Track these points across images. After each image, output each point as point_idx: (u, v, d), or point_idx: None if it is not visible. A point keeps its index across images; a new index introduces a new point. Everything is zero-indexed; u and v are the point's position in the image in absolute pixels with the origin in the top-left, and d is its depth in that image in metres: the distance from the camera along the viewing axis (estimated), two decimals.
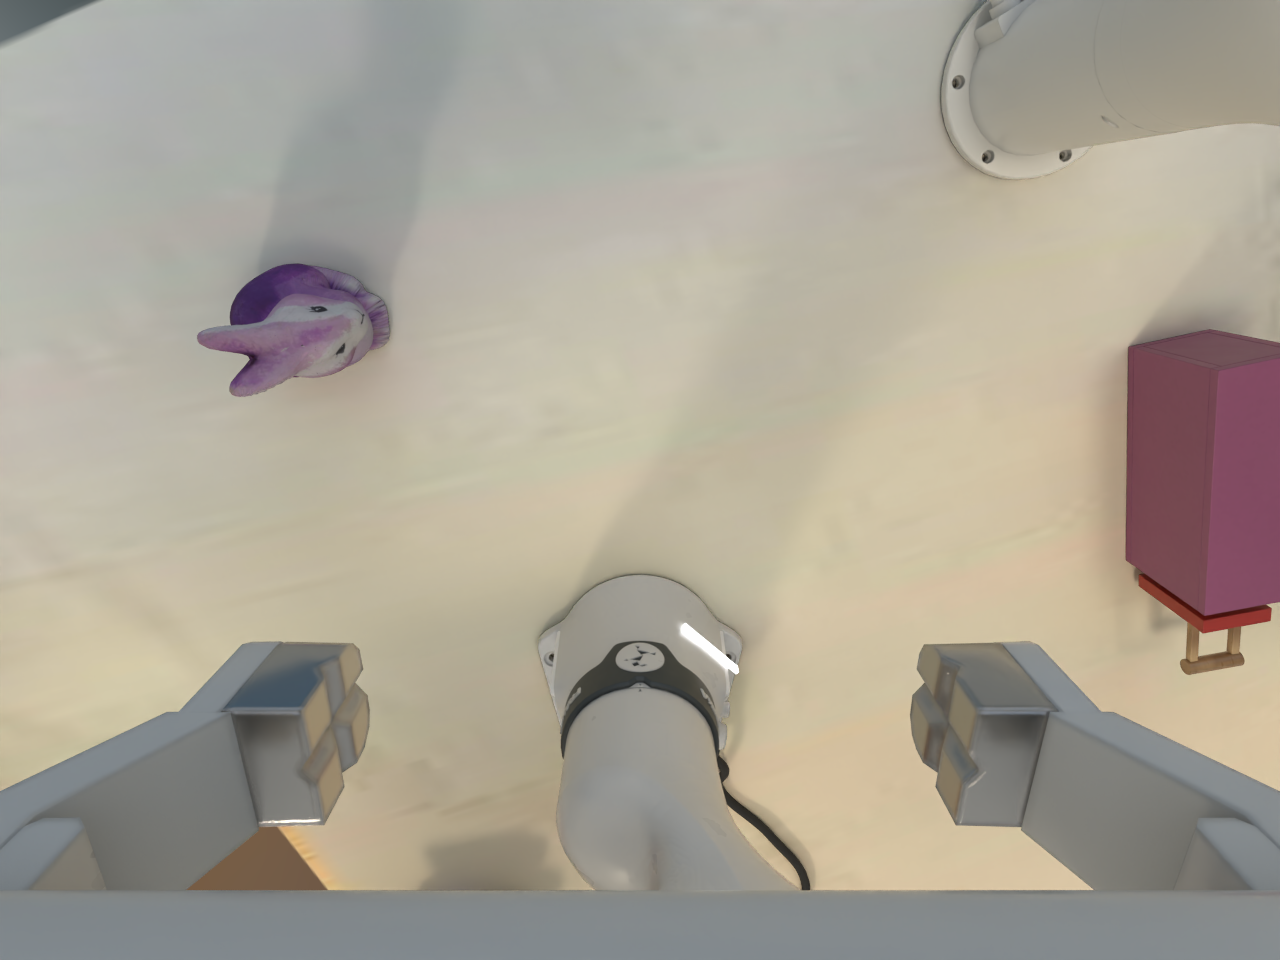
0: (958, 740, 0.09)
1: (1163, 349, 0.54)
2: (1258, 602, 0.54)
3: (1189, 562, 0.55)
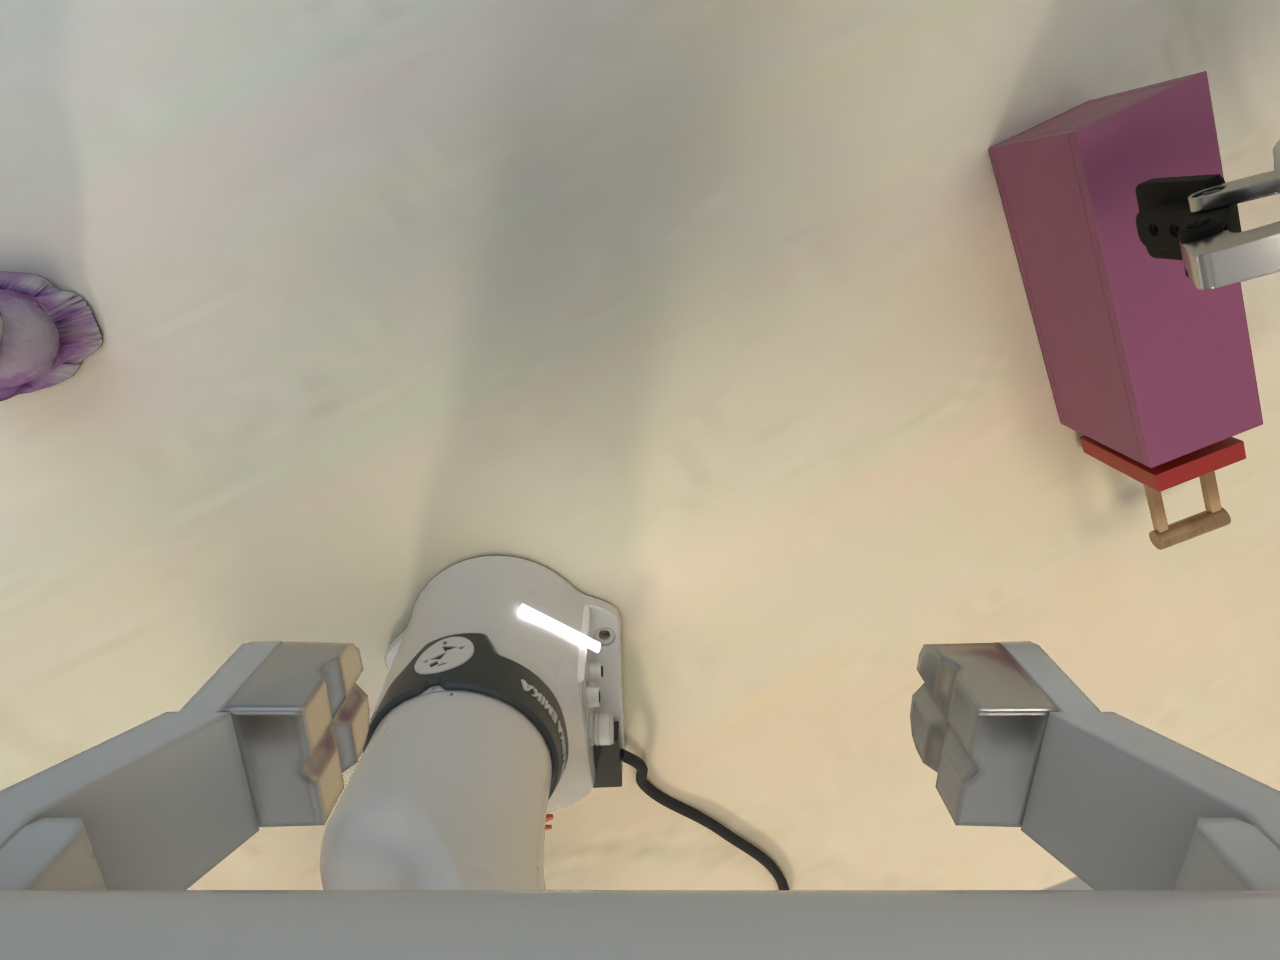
0: (958, 740, 0.09)
1: (1025, 136, 0.41)
2: (1219, 436, 0.40)
3: (1117, 403, 0.42)
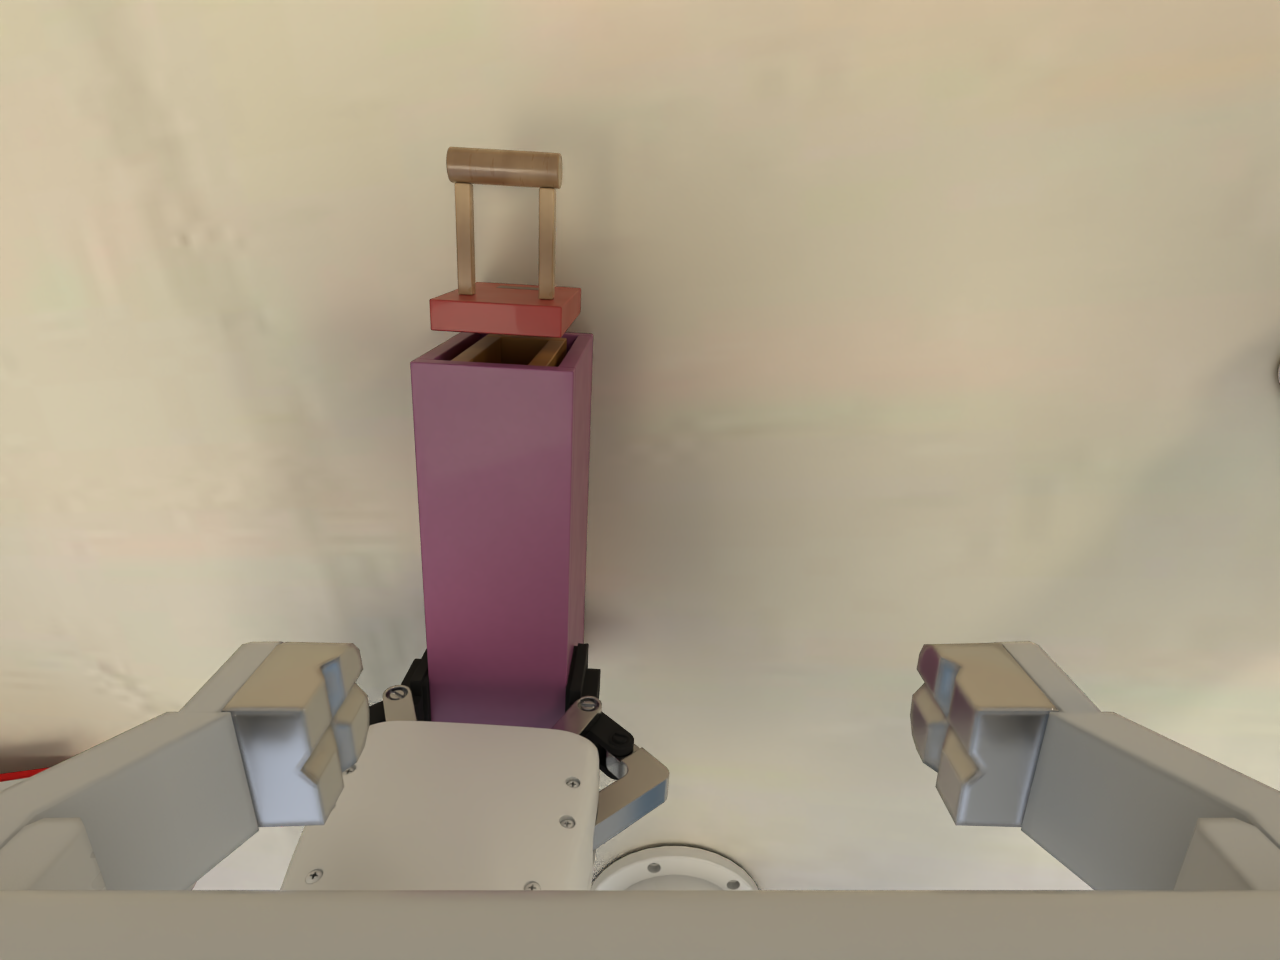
0: (958, 741, 0.09)
1: None
2: (472, 373, 0.27)
3: (576, 449, 0.30)
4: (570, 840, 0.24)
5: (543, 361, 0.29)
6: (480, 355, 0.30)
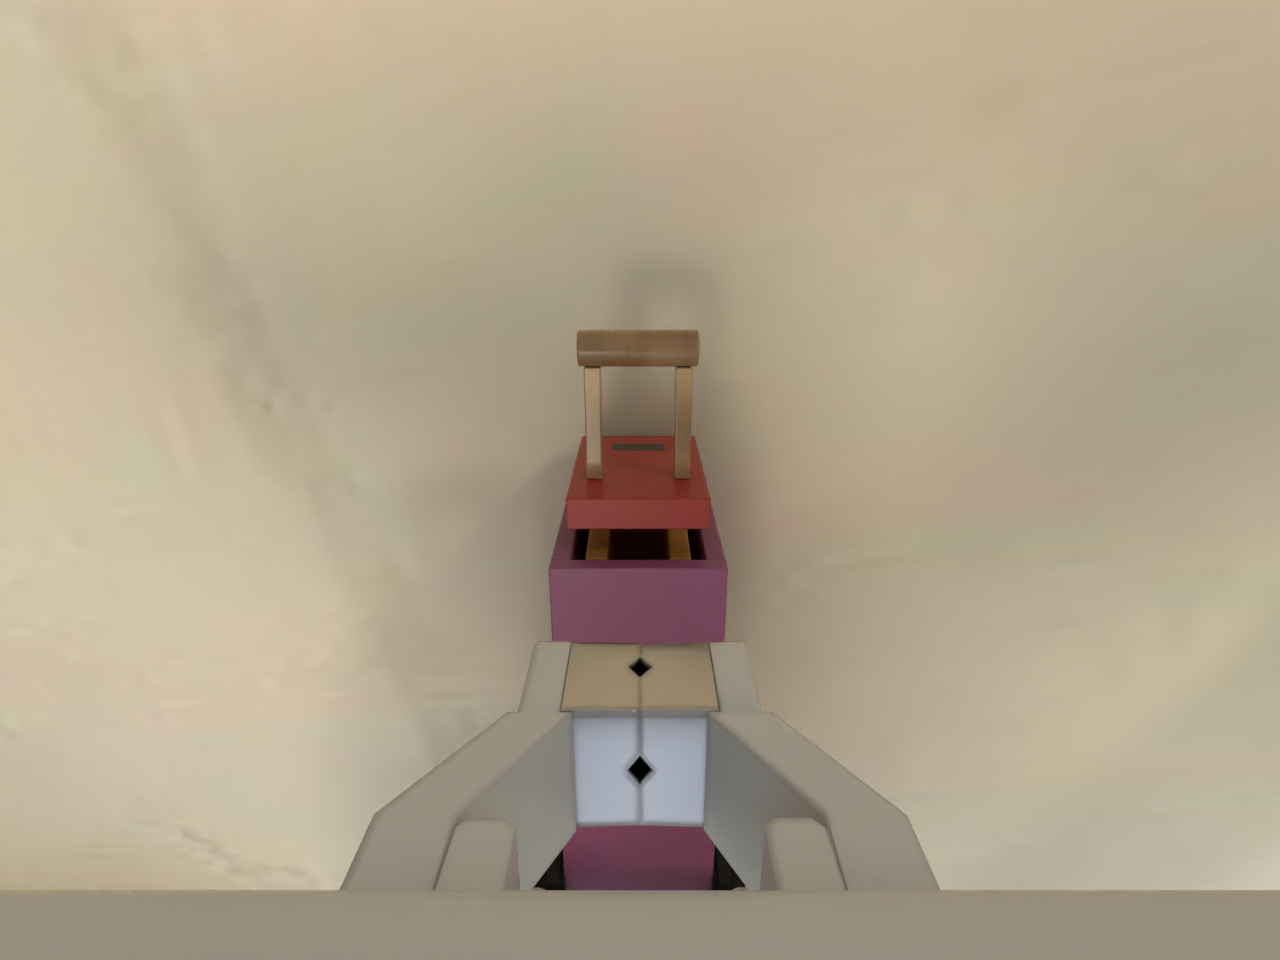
0: None
1: None
2: (617, 576, 0.25)
3: None
4: None
5: (682, 545, 0.27)
6: (609, 536, 0.28)
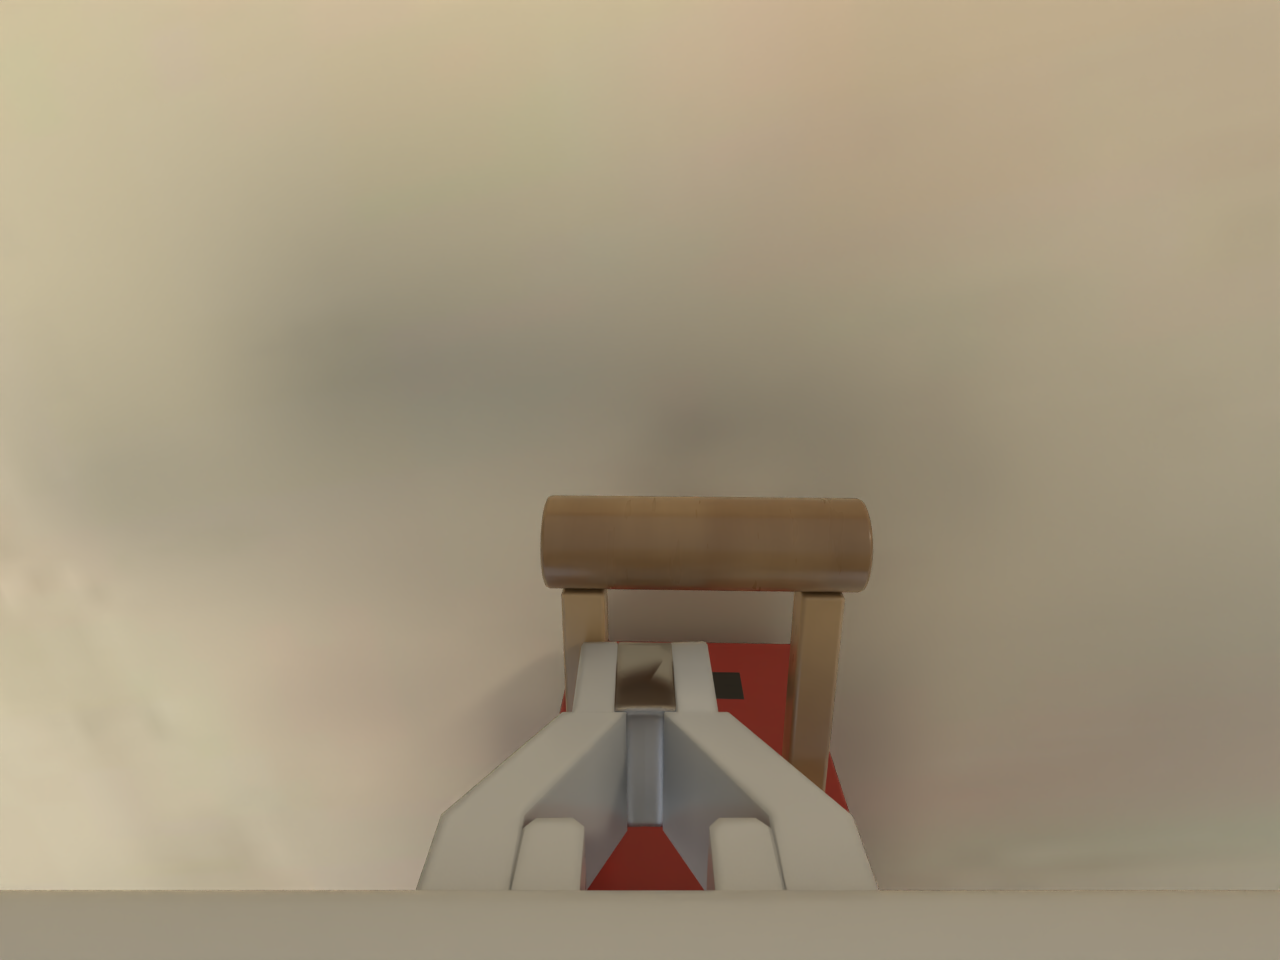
0: None
1: None
2: None
3: None
4: None
5: None
6: None
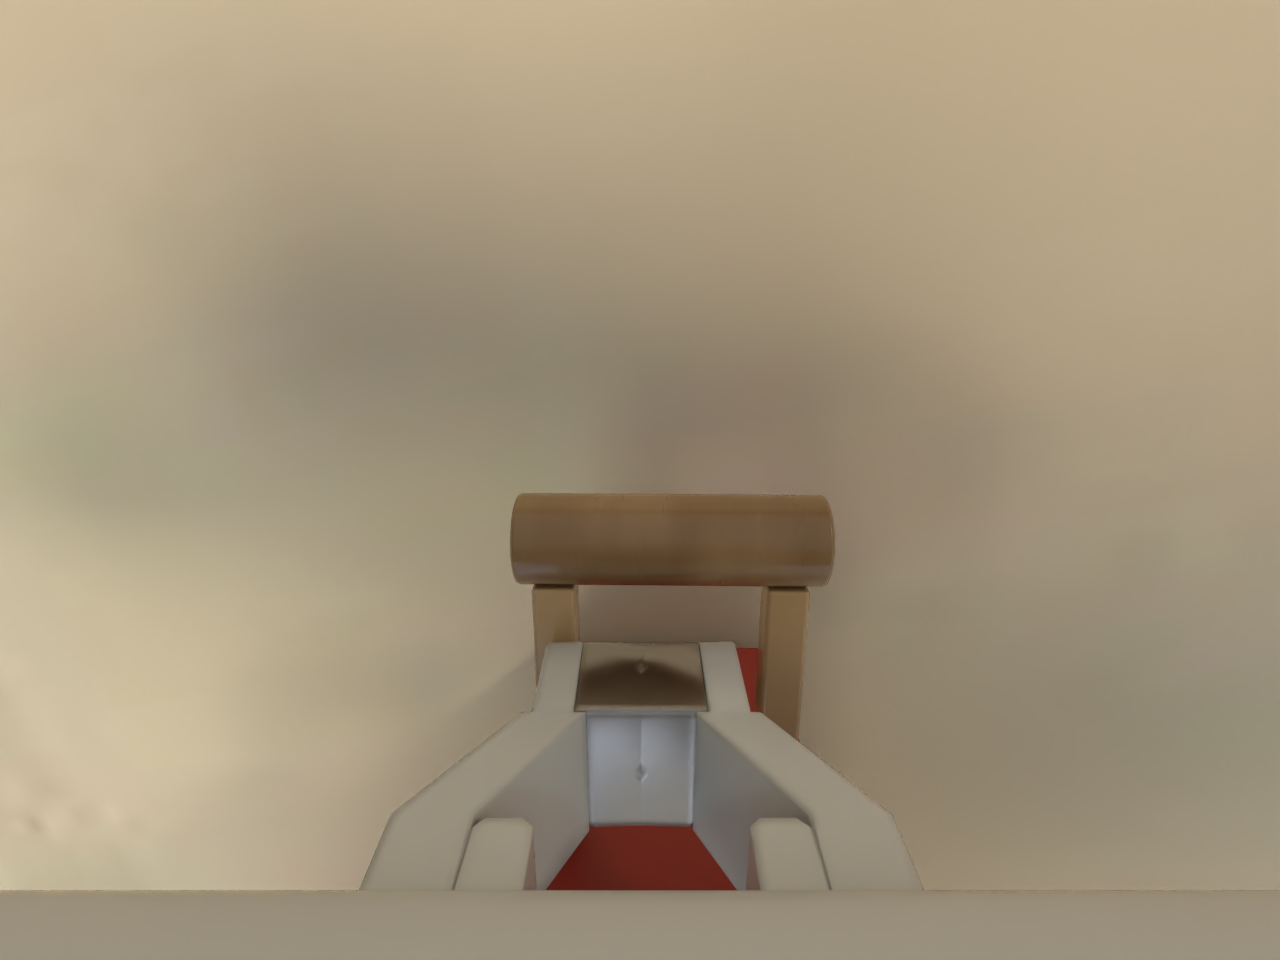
0: None
1: None
2: None
3: None
4: None
5: None
6: None
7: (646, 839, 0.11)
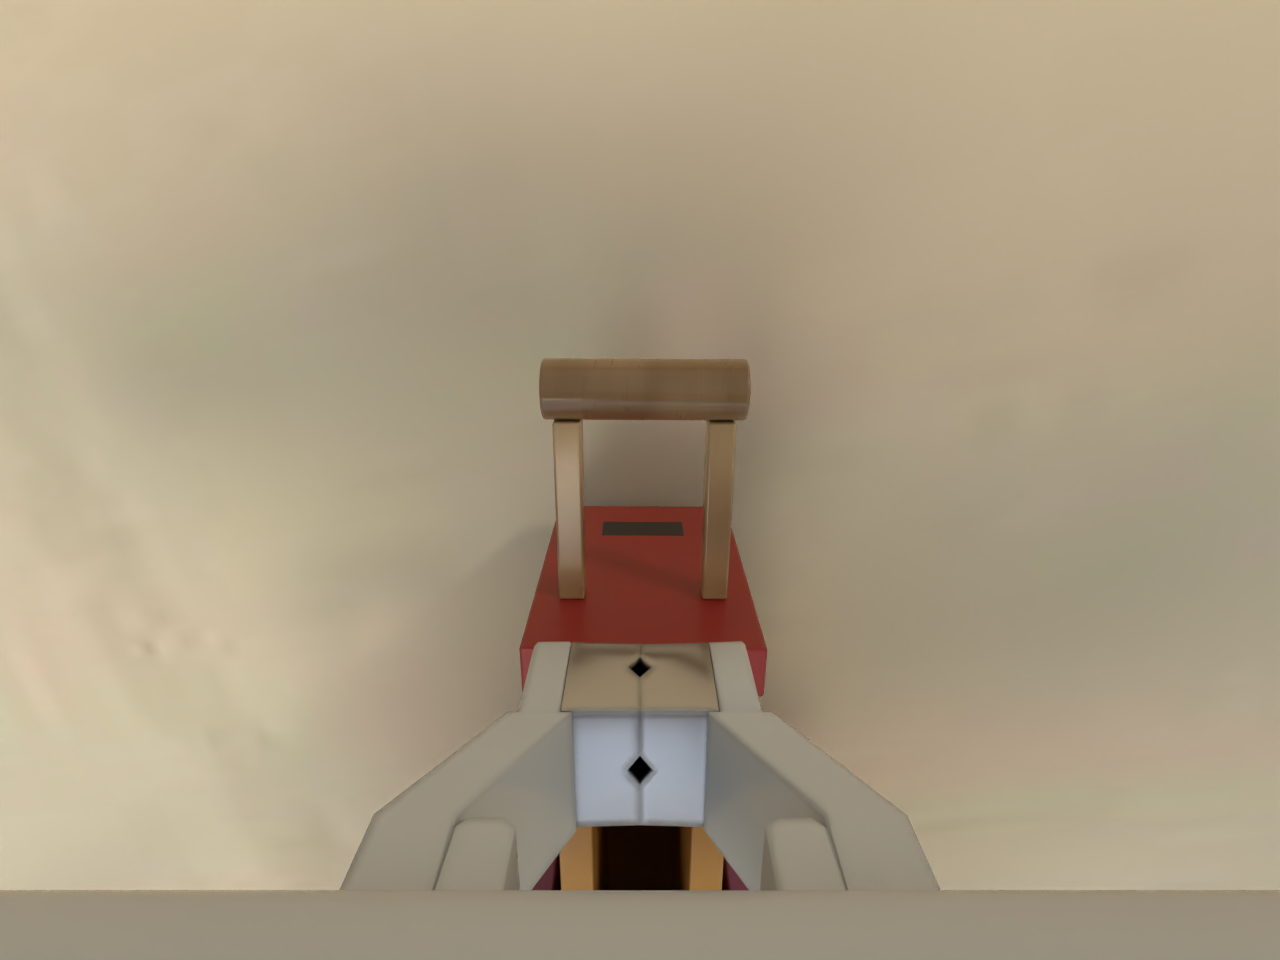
0: None
1: None
2: None
3: None
4: None
5: None
6: None
7: (629, 601, 0.16)
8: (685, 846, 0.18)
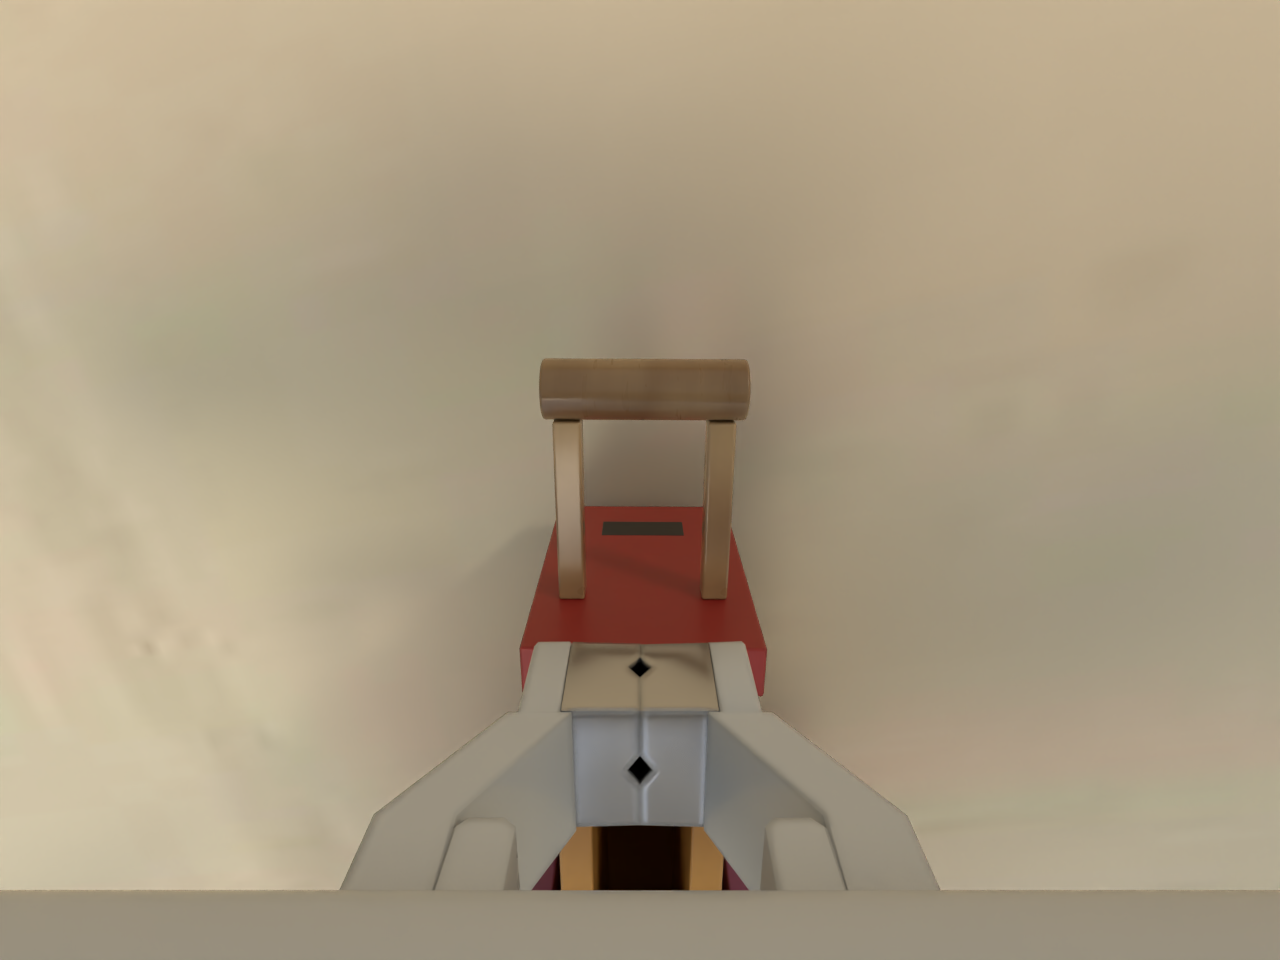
0: None
1: None
2: None
3: None
4: None
5: None
6: None
7: (629, 601, 0.16)
8: (685, 846, 0.18)
